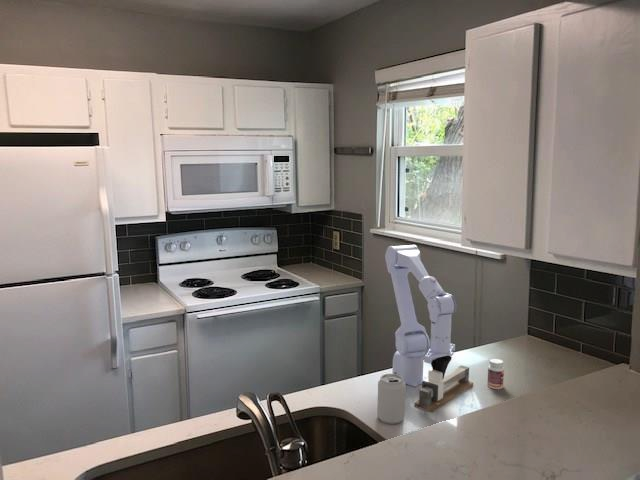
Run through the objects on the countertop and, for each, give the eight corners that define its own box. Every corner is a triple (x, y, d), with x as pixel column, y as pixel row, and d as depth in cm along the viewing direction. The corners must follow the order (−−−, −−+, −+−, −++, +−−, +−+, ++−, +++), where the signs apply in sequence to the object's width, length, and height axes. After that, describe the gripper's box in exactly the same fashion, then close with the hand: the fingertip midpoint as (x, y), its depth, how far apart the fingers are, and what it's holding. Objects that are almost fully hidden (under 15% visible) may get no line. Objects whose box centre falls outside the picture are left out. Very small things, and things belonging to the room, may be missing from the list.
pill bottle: (504, 390, 165) (505, 364, 163) (488, 388, 166) (489, 363, 164) (502, 383, 169) (503, 358, 168) (486, 382, 170) (487, 357, 169)
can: (386, 427, 141) (387, 385, 139) (372, 415, 148) (373, 374, 146) (409, 422, 144) (411, 380, 142) (395, 410, 151) (396, 370, 149)
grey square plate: (421, 397, 155) (422, 381, 155) (423, 396, 156) (423, 380, 155) (435, 402, 152) (436, 386, 151) (437, 401, 153) (438, 385, 152)
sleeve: (423, 396, 156) (424, 371, 155) (428, 392, 158) (429, 368, 157) (437, 401, 153) (438, 376, 152) (442, 397, 155) (443, 373, 154)
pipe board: (414, 405, 154) (414, 388, 153) (455, 379, 172) (456, 364, 171) (432, 412, 150) (432, 394, 149) (473, 385, 168) (473, 368, 167)
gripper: (440, 344, 147) (438, 391, 149) (465, 332, 158) (463, 376, 160) (418, 339, 152) (416, 384, 154) (443, 327, 162) (442, 369, 164)
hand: (438, 379), depth 157 cm, fingers closed
